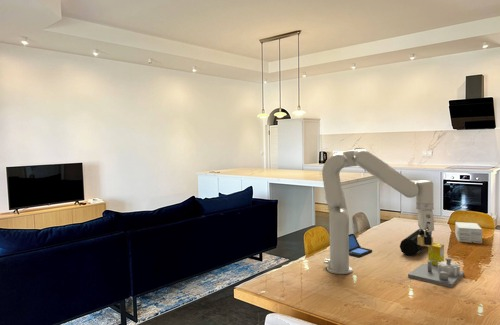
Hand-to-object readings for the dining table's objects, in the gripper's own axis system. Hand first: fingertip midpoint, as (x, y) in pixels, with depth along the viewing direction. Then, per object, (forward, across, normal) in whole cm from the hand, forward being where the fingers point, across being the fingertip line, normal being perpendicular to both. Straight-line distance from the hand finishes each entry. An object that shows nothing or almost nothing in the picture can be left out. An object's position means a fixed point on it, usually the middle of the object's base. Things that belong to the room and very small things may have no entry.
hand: (425, 242), depth 177 cm
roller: (+17, +46, -9) cm, 49 cm away
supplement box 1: (+16, +15, -9) cm, 24 cm away
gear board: (+16, -1, -4) cm, 17 cm away
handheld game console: (+16, +34, +29) cm, 47 cm away
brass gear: (+1, 0, 0) cm, 1 cm away
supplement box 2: (+17, +70, -46) cm, 85 cm away
